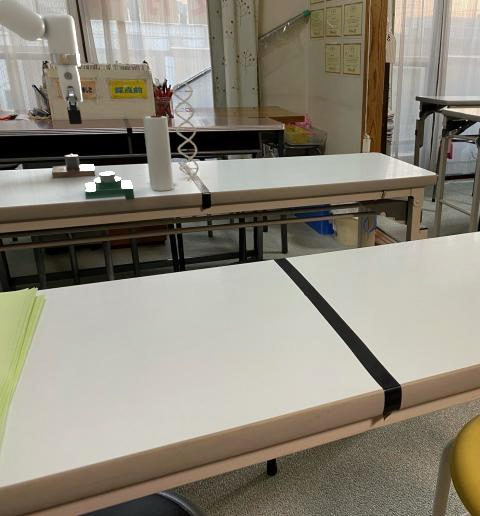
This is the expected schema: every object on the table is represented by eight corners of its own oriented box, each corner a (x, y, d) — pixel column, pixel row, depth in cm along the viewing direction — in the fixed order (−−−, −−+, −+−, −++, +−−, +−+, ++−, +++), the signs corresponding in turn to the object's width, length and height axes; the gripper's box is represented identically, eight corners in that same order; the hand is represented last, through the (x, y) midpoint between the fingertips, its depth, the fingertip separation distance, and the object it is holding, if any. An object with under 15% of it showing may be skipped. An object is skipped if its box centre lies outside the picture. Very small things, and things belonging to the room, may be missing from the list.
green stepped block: (87, 203, 139) (84, 184, 137) (86, 194, 147) (83, 177, 145) (134, 199, 144) (132, 181, 142) (131, 191, 152) (129, 174, 150)
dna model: (196, 181, 166) (188, 83, 155) (177, 180, 166) (167, 83, 155) (202, 177, 172) (195, 82, 161) (183, 176, 172) (175, 82, 162)
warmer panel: (53, 182, 160) (51, 172, 159) (54, 175, 168) (52, 166, 167) (95, 179, 165) (94, 169, 164) (94, 173, 173) (93, 163, 172)
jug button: (100, 182, 141) (99, 175, 140) (99, 179, 145) (98, 172, 144) (116, 181, 143) (115, 174, 142) (115, 178, 146) (114, 171, 146)
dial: (80, 168, 165) (77, 155, 163) (66, 169, 163) (63, 156, 162) (80, 166, 168) (78, 153, 166) (66, 167, 167) (64, 153, 165)
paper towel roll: (175, 190, 154) (169, 117, 147) (154, 192, 151) (146, 117, 144) (170, 185, 160) (164, 114, 152) (150, 187, 157) (142, 115, 150)
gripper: (81, 61, 142) (90, 125, 148) (79, 60, 156) (87, 118, 162) (50, 61, 139) (61, 126, 145) (51, 60, 153) (61, 119, 159)
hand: (75, 122), depth 154 cm, fingers open, 9 cm apart
